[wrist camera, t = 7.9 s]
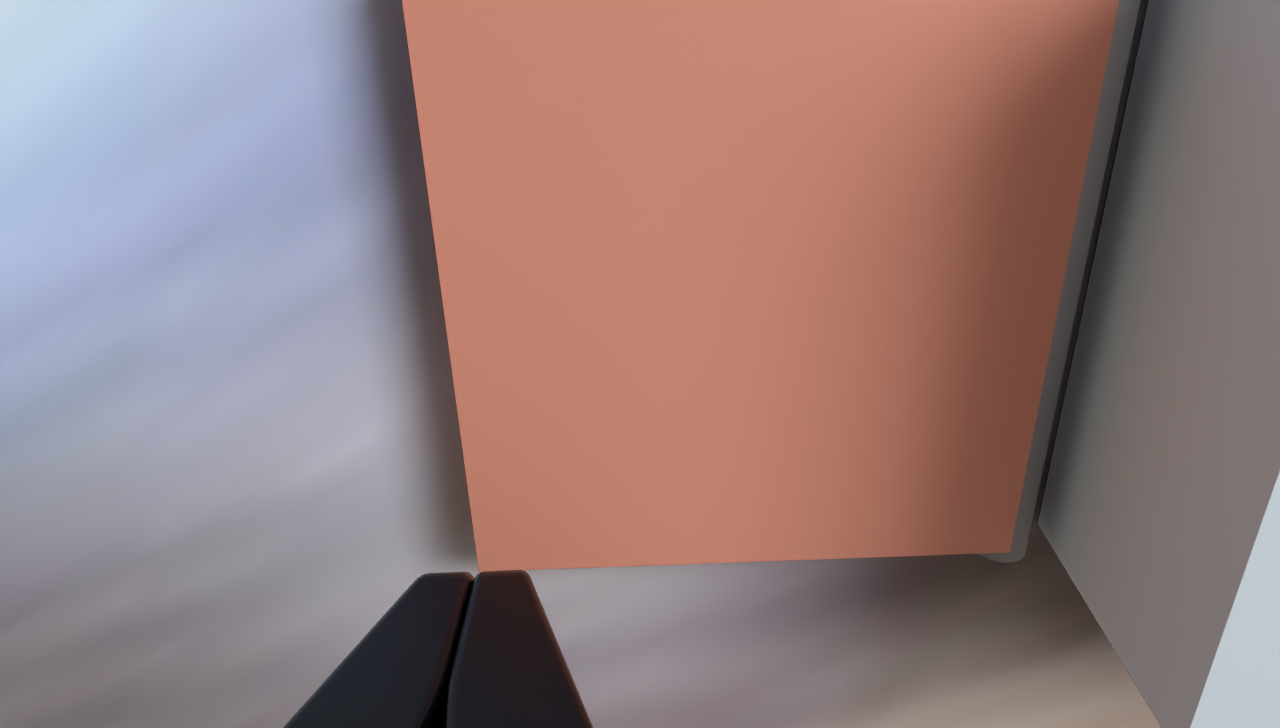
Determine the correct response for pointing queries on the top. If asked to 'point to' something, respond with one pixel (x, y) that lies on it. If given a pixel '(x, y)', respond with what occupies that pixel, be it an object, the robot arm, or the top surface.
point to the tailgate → (760, 267)
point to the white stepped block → (1184, 377)
